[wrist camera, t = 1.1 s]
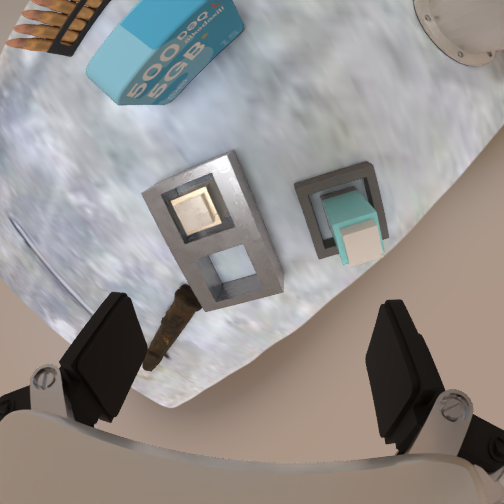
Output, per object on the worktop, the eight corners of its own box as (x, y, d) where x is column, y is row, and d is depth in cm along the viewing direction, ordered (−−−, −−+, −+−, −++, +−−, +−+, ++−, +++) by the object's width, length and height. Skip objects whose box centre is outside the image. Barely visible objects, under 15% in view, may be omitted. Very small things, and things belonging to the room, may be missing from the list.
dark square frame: (367, 161, 28) (373, 165, 26) (383, 230, 32) (389, 237, 30) (294, 183, 30) (295, 189, 28) (316, 250, 34) (318, 259, 32)
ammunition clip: (71, 56, 24) (4, 53, 14) (64, 52, 24) (-1, 48, 13) (119, -10, 20) (61, -38, 9) (110, -14, 20) (53, -40, 9)
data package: (169, 105, 28) (110, 107, 17) (143, 82, 26) (77, 76, 16) (246, 29, 23) (225, -16, 12) (217, 7, 22) (182, -40, 11)
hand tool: (183, 278, 38) (172, 298, 34) (208, 294, 39) (200, 316, 35) (138, 347, 46) (128, 365, 42) (157, 358, 47) (149, 378, 43)
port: (233, 149, 29) (223, 157, 25) (283, 273, 36) (283, 299, 31) (156, 183, 32) (135, 197, 27) (211, 293, 38) (202, 318, 33)
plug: (353, 186, 30) (381, 217, 21) (362, 218, 31) (389, 260, 22) (320, 196, 31) (334, 232, 22) (329, 228, 32) (346, 273, 23)
